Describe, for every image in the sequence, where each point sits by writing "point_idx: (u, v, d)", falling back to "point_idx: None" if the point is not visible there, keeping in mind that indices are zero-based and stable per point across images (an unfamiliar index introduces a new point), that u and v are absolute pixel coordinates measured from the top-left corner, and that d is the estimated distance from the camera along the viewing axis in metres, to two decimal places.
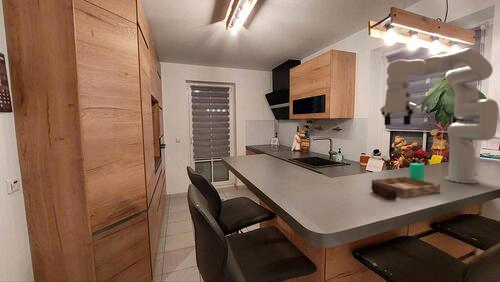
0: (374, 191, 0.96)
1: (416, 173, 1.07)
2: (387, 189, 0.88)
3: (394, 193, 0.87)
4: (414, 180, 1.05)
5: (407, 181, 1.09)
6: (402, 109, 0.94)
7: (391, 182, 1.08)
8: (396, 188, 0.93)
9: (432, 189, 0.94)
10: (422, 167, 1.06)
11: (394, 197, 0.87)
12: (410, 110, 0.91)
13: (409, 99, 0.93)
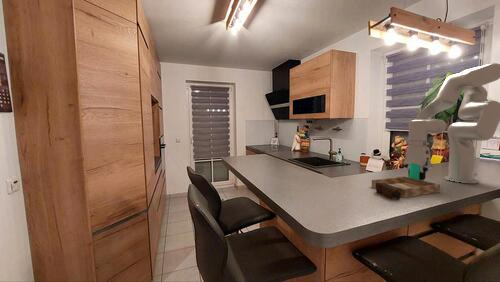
0: (378, 191, 0.96)
1: (416, 173, 1.07)
2: (391, 189, 0.88)
3: (398, 193, 0.87)
4: (414, 180, 1.05)
5: (407, 181, 1.09)
6: (422, 165, 1.04)
7: (391, 182, 1.08)
8: None
9: (432, 189, 0.94)
10: None
11: (398, 197, 0.87)
12: (425, 168, 1.04)
13: (429, 156, 1.04)
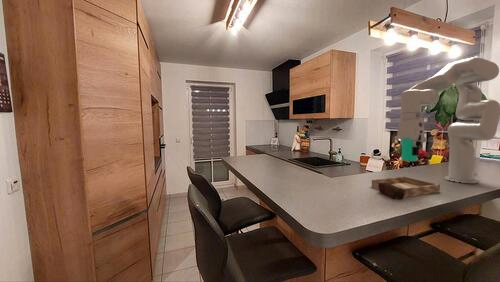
0: (381, 191, 0.96)
1: (409, 148, 0.98)
2: (394, 189, 0.88)
3: (401, 193, 0.87)
4: (414, 180, 1.05)
5: (407, 181, 1.09)
6: (415, 138, 0.95)
7: (391, 182, 1.08)
8: None
9: (432, 189, 0.94)
10: None
11: (401, 197, 0.87)
12: (418, 142, 0.95)
13: (422, 129, 0.95)
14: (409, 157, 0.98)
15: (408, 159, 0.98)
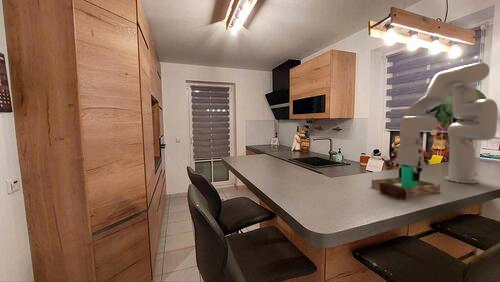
0: (382, 191, 0.95)
1: (408, 176, 0.99)
2: (397, 189, 0.88)
3: (404, 193, 0.87)
4: None
5: None
6: (414, 165, 0.96)
7: (391, 182, 1.08)
8: None
9: (432, 189, 0.94)
10: None
11: (404, 197, 0.87)
12: (419, 168, 0.95)
13: (421, 155, 0.96)
14: (408, 185, 0.99)
15: (408, 187, 0.99)
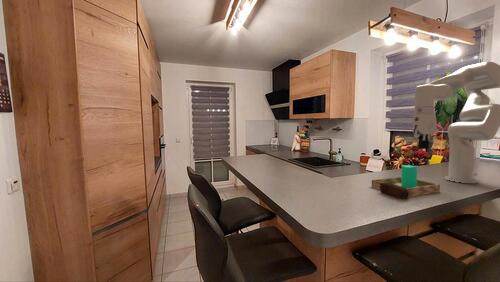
0: (383, 191, 0.95)
1: (408, 176, 0.99)
2: (400, 189, 0.88)
3: (406, 192, 0.87)
4: None
5: None
6: None
7: (391, 182, 1.08)
8: None
9: (432, 189, 0.94)
10: (415, 170, 0.98)
11: (406, 196, 0.88)
12: None
13: (418, 123, 1.00)
14: (408, 185, 0.99)
15: (408, 187, 0.99)
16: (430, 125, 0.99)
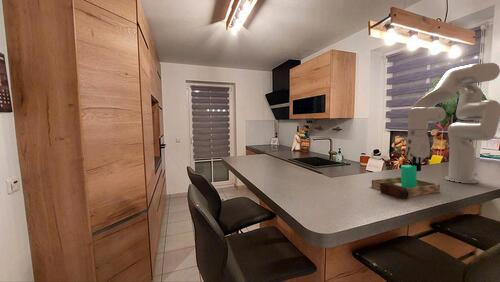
0: (383, 191, 0.95)
1: (408, 176, 0.99)
2: (400, 189, 0.88)
3: (406, 192, 0.88)
4: None
5: None
6: None
7: (391, 182, 1.08)
8: None
9: (432, 189, 0.94)
10: (414, 169, 0.98)
11: (406, 196, 0.88)
12: None
13: (411, 145, 0.99)
14: (408, 185, 0.99)
15: (408, 187, 0.99)
16: (423, 148, 0.99)
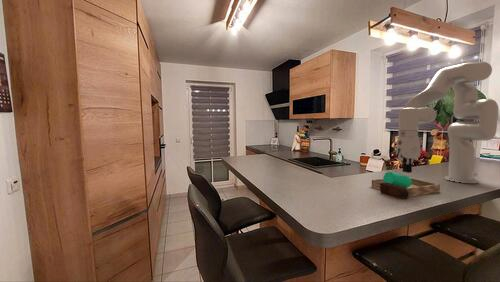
0: (383, 191, 0.95)
1: (398, 185, 0.98)
2: (399, 189, 0.88)
3: (406, 192, 0.88)
4: (414, 180, 1.05)
5: None
6: None
7: None
8: None
9: (432, 189, 0.94)
10: (396, 180, 0.96)
11: (406, 196, 0.88)
12: None
13: (401, 147, 0.98)
14: (405, 187, 0.99)
15: (406, 187, 0.99)
16: (413, 149, 0.97)
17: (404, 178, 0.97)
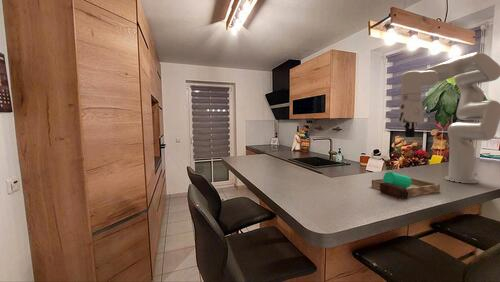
0: (383, 191, 0.95)
1: (398, 185, 0.98)
2: (399, 189, 0.88)
3: (406, 192, 0.88)
4: (414, 180, 1.05)
5: None
6: None
7: None
8: None
9: (432, 189, 0.94)
10: (396, 180, 0.96)
11: (406, 196, 0.88)
12: None
13: (404, 110, 0.97)
14: (405, 187, 0.99)
15: (406, 187, 0.99)
16: (416, 112, 0.96)
17: (404, 178, 0.97)
